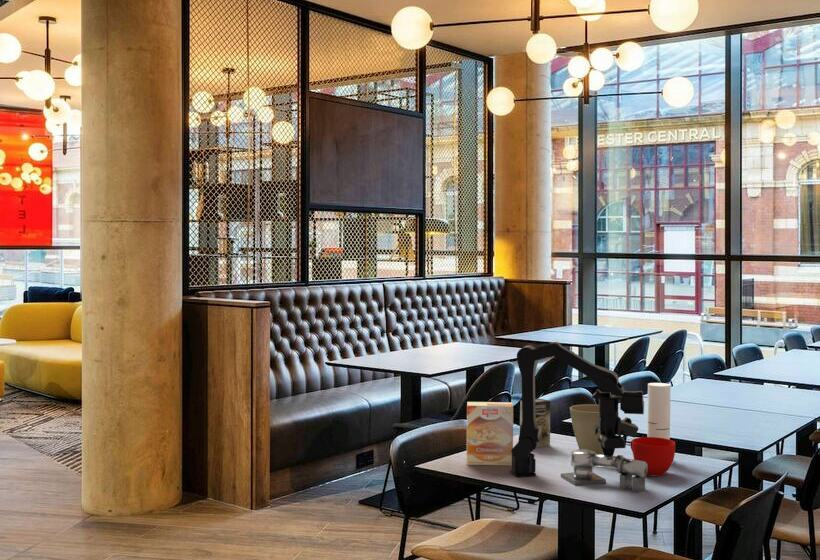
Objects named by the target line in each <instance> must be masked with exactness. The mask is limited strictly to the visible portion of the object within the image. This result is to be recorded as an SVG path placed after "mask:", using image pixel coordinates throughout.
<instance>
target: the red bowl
mask: <svg viewBox="0 0 820 560" xmlns="http://www.w3.org/2000/svg"><path fill="white" fill-rule="evenodd" d="M629 443H630V444H629V446H630V449H631V452H632V457H633V460H638V461H644V462H646V463H647V465H648V471H647V474H646V476H649V475H651V476H650V477H661V476H664V475H665V474H666V473H667V471H669V470H670V468H671V467H672V465H673V463H674V459H675V455H676V454H675V453H676V442H675V441H673V440H671V439H670V440H669V439H665V438H657V437H647V436H641V437H635V438H633V439H632V440H631V441H630V442H629Z"/></svg>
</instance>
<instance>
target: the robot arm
mask: <svg viewBox="0 0 820 560" xmlns="http://www.w3.org/2000/svg"><path fill="white" fill-rule="evenodd" d="M550 357H554V358H555V359H558V360H559V361H561V362H562V363H565V364H566V365H568V366H569V367H571V368H573V369H575V370H576V371H578V372H580V373H581V374H583V375H585V376H586V377H587V378H588V379H589V380H590V381H591V382H592V384H594V385H595V386H597V387H598V389H596V391H595V392H594V393H593V394H592V399H598V405H599V414H598V419H599V424H596V425H595V426H594V434H595V435H597V432H599V434H600V438H598V439H597V440H598V442H599V444H600V447H601V449H602V451H603V454H604V455H610V456H614V453H615V451H616V449H625V448H626V447H627V446H626V440H625V439H624V438H623V436H622V435H623V434H624V435H627V436H629V437H631V438H633V439H635V438H637V437H636V436H637V434H638V431H639V427H638V425H637V424H635V423H632V422H633V421H632V419H631V418H630V417H627V416H625V417H624V418H623V419H622V418H621V417H620V416H619V410H620V411H622V412H623V413H624V414H628V415H644V414H645V401H644V392H643V391H642V390H634V391H633V390H632V391H628V390H626V389H625V388H624V386H623V385H622V384H621V383H620V380H619V375H618V374H617V372H615V371H614V370H613V369H609V368H606V367H603V366H600V365H597V364H594V363H593V362H590V361H589V360H587V359H585V358H583V356H580V355H579V354H577V353H575V352H574V351H572V350H571V349H568V348H567V347H565V346H563V345H562V344H561V343H560V342H558V341H553V342H551V343H545V344H541V345H538V346H537V345H536V346H533V345H531V344H528V345H524V346H523V347H522V348H520V349H519V350H518V351H517V353H516V360H517V366H518V370H519V373H520V376H521V400H522V425H521V429H520V428H519V435H518V441H517V443H516V444H515V445H513V448H512V450H511V452H512V466H511V469H510V470H509V473H511V474H512V475H513V476H515V477H533V476H534V477H535V476H537V473H536V458H535V454H533V453H532V452H533V451H534V450H536V448H538V447H537V446H538V444H539V443H540V440H541V439H542V435H541V429H542V426H537V423H536V415H535V399H536V372H537V367H538V362H539V361H540V360H543V359H546V358H550ZM619 400H620V401H619ZM619 404H620V405H619ZM619 406H620V407H619ZM619 408H620V409H619Z"/></svg>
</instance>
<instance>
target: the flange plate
mask: <svg viewBox="0 0 820 560" xmlns="http://www.w3.org/2000/svg"><path fill="white" fill-rule="evenodd" d="M593 468H594V467H593ZM593 468H576V467H573V472H562V473H560V477H561V478H562V479H564V480H565V479H566V481H567V482H569V483H570V484H572V485H574V486H581V485H584V484H586V485H595V483H599V484H606V483H607V480H606V479H605V478H604V477H603V476H600V475H599V474H596V473H594V472H593ZM584 486H585V485H584Z"/></svg>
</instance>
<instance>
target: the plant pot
mask: <svg viewBox="0 0 820 560" xmlns="http://www.w3.org/2000/svg"><path fill="white" fill-rule="evenodd" d="M569 412H570V418H571V424H572V430H573V433H574V437H575V440H576V444H577V446H578V450H579V449H583V450H591V451H594V452H595V454H601V455H604V454H603V451H602V449H601V447H600V444H599V442H598V440H597V439H598V438H600V434H599V432H597V435H595V434H594V426H595V425H596V424H599V419H598V414H599V404H576V405H572V406H570V407H569Z"/></svg>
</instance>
